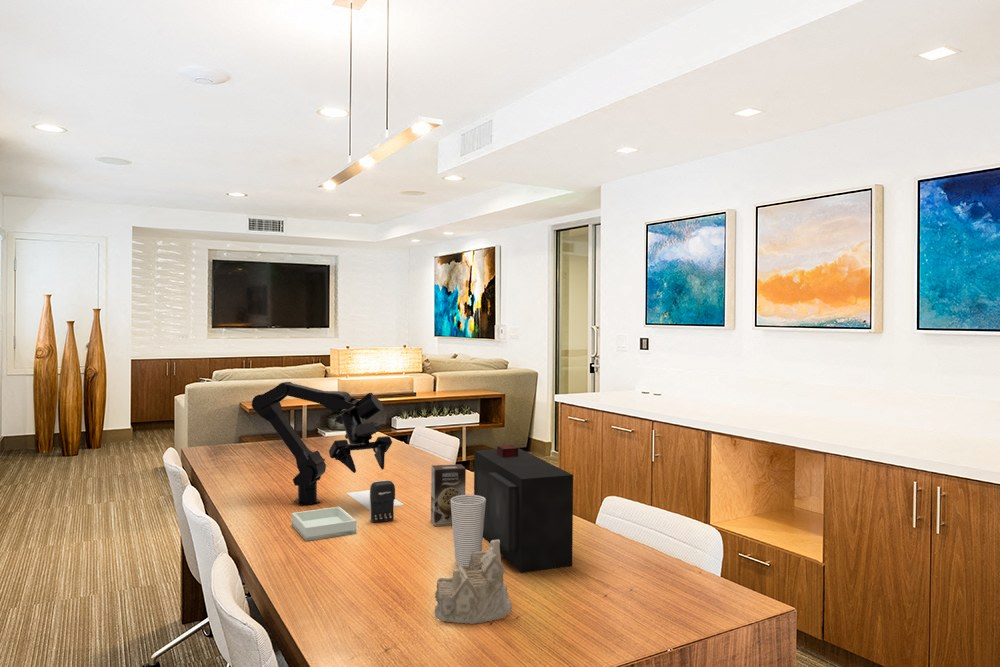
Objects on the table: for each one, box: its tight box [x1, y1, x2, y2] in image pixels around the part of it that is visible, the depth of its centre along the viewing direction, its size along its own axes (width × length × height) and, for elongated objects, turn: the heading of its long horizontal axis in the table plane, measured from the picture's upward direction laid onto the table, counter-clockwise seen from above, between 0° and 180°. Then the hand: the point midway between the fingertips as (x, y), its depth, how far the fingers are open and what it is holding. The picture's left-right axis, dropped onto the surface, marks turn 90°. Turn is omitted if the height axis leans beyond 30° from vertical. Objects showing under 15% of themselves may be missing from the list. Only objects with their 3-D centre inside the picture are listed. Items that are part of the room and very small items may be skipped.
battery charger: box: [369, 479, 396, 523], centre depth 196 cm, size 7×4×11 cm, turn 116°
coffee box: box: [430, 463, 467, 527], centre depth 195 cm, size 9×6×16 cm
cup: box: [451, 494, 486, 569], centre depth 163 cm, size 8×8×16 cm
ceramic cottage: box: [434, 540, 513, 625], centre depth 139 cm, size 16×16×15 cm
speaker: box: [473, 444, 574, 574], centre depth 175 cm, size 15×35×24 cm, turn 20°
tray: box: [291, 506, 357, 542], centre depth 188 cm, size 16×14×4 cm
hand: (369, 470), depth 202 cm, fingers open, 9 cm apart
